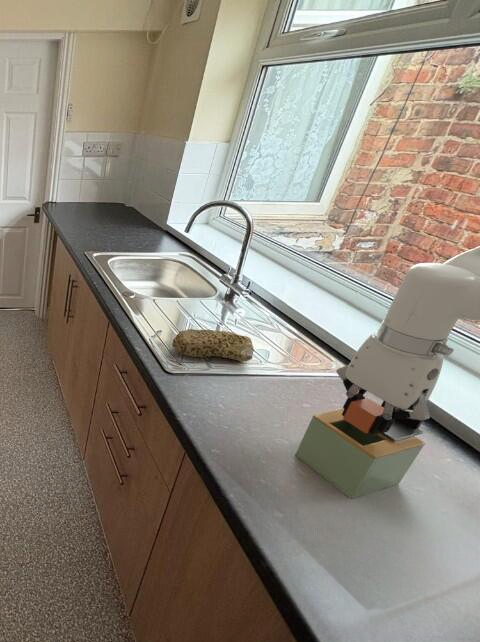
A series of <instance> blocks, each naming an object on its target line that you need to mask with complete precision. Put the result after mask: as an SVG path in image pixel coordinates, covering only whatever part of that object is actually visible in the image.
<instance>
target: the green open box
mask: <svg viewBox="0 0 480 642" xmlns="http://www.w3.org/2000/svg"><path fill="white" fill-rule="evenodd" d="M343 411H344V408H343V407H341V408H337V409H333V410H328V411H325V412H320V413H317V414H313V415H312V417H311V419H310V422H309V424H308V426H307V428H306V430H305V432H304V434H303V437H302V439H301V441H300V443H299V445H298V447H297V449H296V451H295V456H296V457H297V458H299V459H300V460H301V461H302V462H304V463H305V464H306V465H308V466H309V467H310V468H312V470H314V471H315V472H317V473H318V474H319V475H320V476H321V477H322V478H324V479H326V481H328V482H329V483H330V484H332V486H334V487H336V489H337V490H339V491H340V492H342V493H343V494H345V496H347V497H348V498H349V499H351V500H352V499H355V498H358V497H361V496H365V495H368V494H372V493H376V492H378V491H381V490H384V489H388V488H390V487H394V486H398V485H399V484H400V483H401V481H402V480H403V479H404V477H405V475H406V474H407V472H408V471H409V470H410V468H411V466H412V464H414V461H415V460H416V459H417V457H418V455H419V454H420V452H421V451H422V449H423V448H424V446H425V445H426V442H425V441H423V440H421V439H419V438H418V437H416V436H412V437H409V438H405V439H401V440H398V441H392V440H390V439H389V438H387V437H386V436H384V435H382V434H381V433H377V434H374V435H372V434H371V433H364V432H363V431H361V430H360V429H358V428H357V427H355V426H353V425H352V424H350V423H349V422H347V421H346V420H344V419H343V417H344V416H343V415H342V413H343Z"/></svg>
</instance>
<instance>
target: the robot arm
mask: <svg viewBox="0 0 480 642" xmlns="http://www.w3.org/2000/svg"><path fill="white" fill-rule="evenodd" d="M387 309H388V310H387V311H386V314H385V315H384V317H383V319H382V321H381V323H380V325H379V328H378V329H377V331H376V332H372V333H371V334H370V335H369V336H368V337H367V338H366V339H365V341H364V342H362V344H361V345H360V347H359V348H358V349H357V350H356V352H355V354H353V355H354V356H353V357H352V359H351V361H350V362H349V364H346V365H344V366H342V367H339V368H337V369H336V370H335V371H336V375H338V377H339V378H340V379H341V380H342V384H343V386H344V388H345V390H346V392H345V395H346V397H347V398H346V400H345V402H344V405H343V406H342V408H344V411H343V413H342V415H343V416H344V415H345V413H346V411H347V409H348V407H349V405H350V403H351V402H353V401H357V400H361V399H366V397H365V396H364V395H365V394H366V393H370V394H372V395H373V396H375V397H377V398H378V399H381V400H382V401H386V402H385V406H384V410H383V413H382V415H379V416H378V417H377V418H376V420H375V422H374V423H373V425H372V427H371V429H370V431H369V433H371V434H372V435H374V434H377V433H381V432H382V433H385V432H387V431H388V430H389V429H390V428H391V426H392V424H393V422H394V421H395V419H404V418H410V419H417V420H423V421H425V420H429V419H430V418H431V415H430V410H429V407H428V401H429V399H430V397H431V395H432V393H433V391H434V389H435V387H436V385H437V382H438V381H439V377H440V374H441V372H442V369H443V364H444V360H445V359H444V358H445V357H449V356H450V355H452V354H453V353H454V348H452V347H449V346H448V345H447V343H448V341H449V339H448V337H449V335H450V334H451V332H452V330H453V328H454V327H455V326H456V324H457V322H458V321H459V319H466V320H470V321H475V322H480V245H479V246H476V247H474V248H472V249H469V250H467V251H464V252H461V253H459V254H457V255H454V256H453V257H451V258H449V259H448V260H446V261H444V262H443V263H438V262H422V263H417V264H415V265H412V266H411V267H410V268H409V269H408V270H407V271H406V273H405V275H404V277H403V279H402V282H401V283H400V285H399V288H398V289H397V292H396V294H395V295H394V298H393V299H392V301H391V304H390V305H389V308H387ZM444 356H445V357H444ZM411 406H412V409H410V407H411Z"/></svg>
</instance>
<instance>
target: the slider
mask: <svg viewBox="0 0 480 642" xmlns="http://www.w3.org/2000/svg"><path fill="white" fill-rule="evenodd" d="M385 402H386V401H384V400H382V403H381V405H380V406H382V407H384V406H385ZM423 422H424V420H417V419H410V418H404V419H395V421H394V422H393V424H392V426H391V428H390V429H389V430H388V431H387V432H385V433H382V432H381V434H382V435H384V436H386V437H387V438H389V439H390V440H392V441H398V440H401V439H405V438H409V437H412V436H414V437H416V436H419V435H423V434H424V431H423V430H421V429H420V427H421V425H422V424H423Z"/></svg>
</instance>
